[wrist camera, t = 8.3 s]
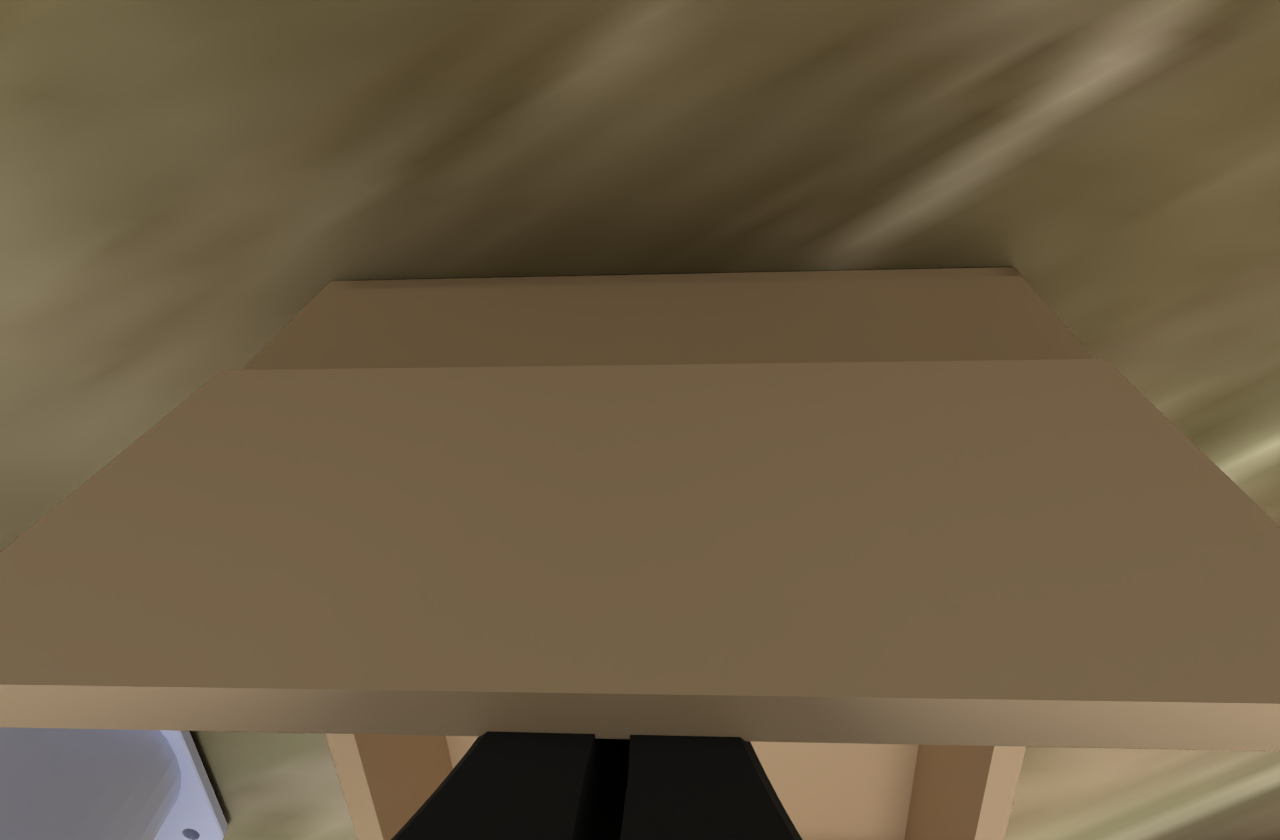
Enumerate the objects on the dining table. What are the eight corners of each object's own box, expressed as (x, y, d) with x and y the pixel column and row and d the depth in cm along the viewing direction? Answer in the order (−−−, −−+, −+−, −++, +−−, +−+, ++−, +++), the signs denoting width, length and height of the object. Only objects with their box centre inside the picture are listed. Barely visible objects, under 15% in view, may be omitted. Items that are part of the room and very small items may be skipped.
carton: (454, 834, 28) (407, 1005, 24) (331, 281, 19) (220, 390, 15) (918, 846, 27) (959, 1028, 22) (1014, 267, 18) (1112, 380, 14)
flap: (-135, 725, 8) (-160, 681, 8) (230, 399, 14) (222, 369, 14) (1443, 753, 7) (1466, 706, 7) (1099, 390, 13) (1105, 358, 13)
